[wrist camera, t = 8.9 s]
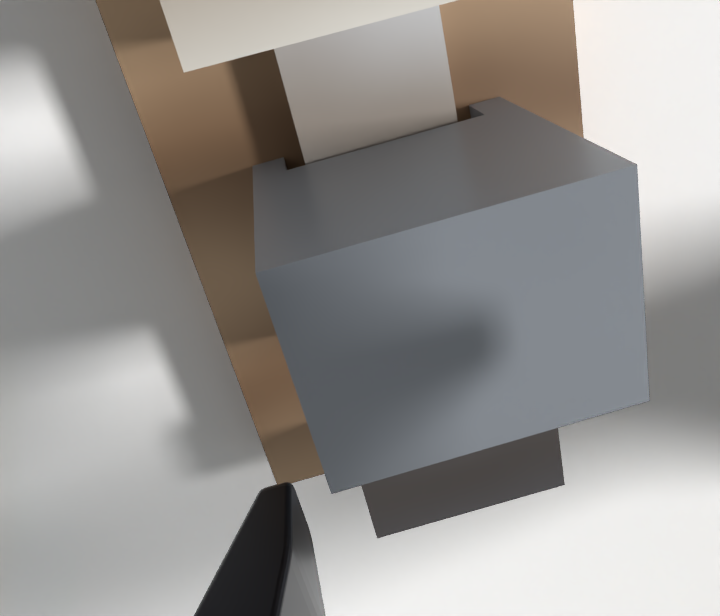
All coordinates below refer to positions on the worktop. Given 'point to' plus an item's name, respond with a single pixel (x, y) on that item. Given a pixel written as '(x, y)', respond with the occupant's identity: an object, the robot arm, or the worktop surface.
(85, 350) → the worktop surface
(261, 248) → the block
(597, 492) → the worktop surface
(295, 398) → the rail board
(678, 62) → the worktop surface
